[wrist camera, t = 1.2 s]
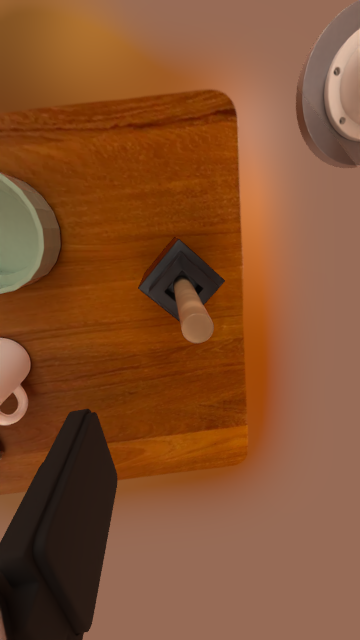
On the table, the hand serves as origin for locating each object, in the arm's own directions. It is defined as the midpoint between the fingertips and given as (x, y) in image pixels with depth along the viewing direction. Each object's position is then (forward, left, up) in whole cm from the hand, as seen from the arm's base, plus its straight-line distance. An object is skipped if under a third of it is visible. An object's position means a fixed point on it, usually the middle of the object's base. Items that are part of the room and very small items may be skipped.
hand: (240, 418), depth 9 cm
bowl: (+11, -21, -32) cm, 40 cm away
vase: (0, 0, -32) cm, 32 cm away
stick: (0, 0, -22) cm, 22 cm away
